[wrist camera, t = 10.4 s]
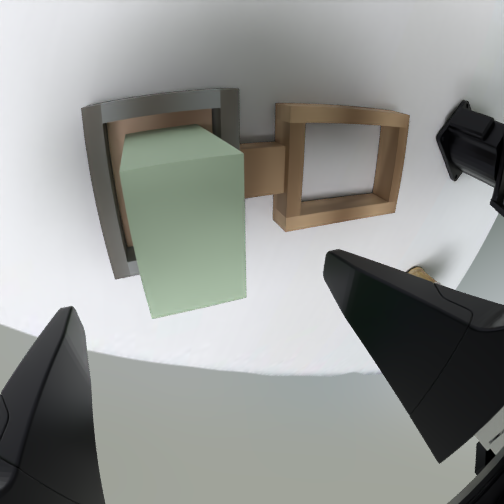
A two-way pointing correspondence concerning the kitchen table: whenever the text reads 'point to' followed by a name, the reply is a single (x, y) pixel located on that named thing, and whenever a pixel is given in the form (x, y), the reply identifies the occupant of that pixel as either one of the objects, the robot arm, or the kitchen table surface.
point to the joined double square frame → (255, 158)
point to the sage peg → (185, 217)
